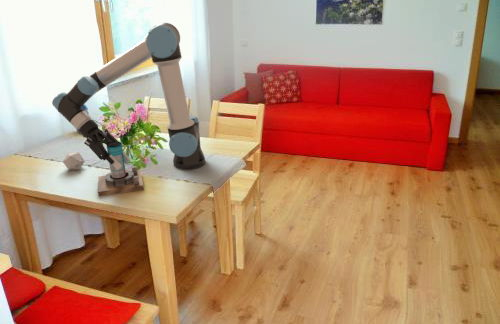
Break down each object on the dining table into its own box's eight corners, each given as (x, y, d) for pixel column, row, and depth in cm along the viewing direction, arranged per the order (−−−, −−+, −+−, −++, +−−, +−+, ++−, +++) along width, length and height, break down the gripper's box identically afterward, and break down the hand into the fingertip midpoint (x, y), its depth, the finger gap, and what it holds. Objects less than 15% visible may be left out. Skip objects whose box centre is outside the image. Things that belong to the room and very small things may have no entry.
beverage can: (128, 174, 178) (124, 141, 173) (121, 180, 173) (116, 146, 167) (116, 173, 180) (111, 141, 174) (109, 179, 175) (103, 145, 169)
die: (73, 175, 190) (83, 157, 190) (56, 166, 190) (67, 147, 190) (80, 174, 198) (90, 156, 198) (64, 165, 198) (74, 147, 198)
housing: (141, 174, 187) (139, 164, 185) (143, 189, 173) (142, 178, 171) (99, 180, 183) (97, 170, 181) (98, 196, 168) (96, 185, 166)
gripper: (94, 123, 182) (132, 161, 183) (65, 137, 165) (106, 179, 167) (103, 112, 178) (141, 151, 180) (73, 126, 161) (116, 168, 163)
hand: (124, 165), depth 173 cm, fingers closed on beverage can, 6 cm apart
